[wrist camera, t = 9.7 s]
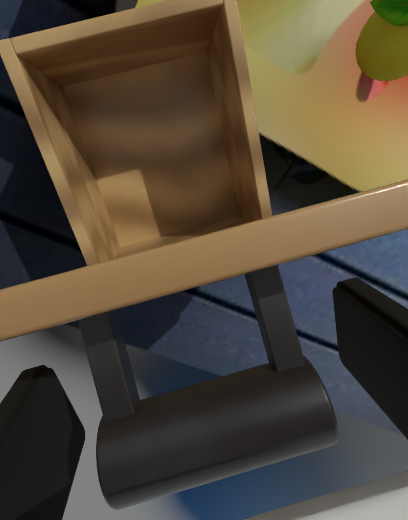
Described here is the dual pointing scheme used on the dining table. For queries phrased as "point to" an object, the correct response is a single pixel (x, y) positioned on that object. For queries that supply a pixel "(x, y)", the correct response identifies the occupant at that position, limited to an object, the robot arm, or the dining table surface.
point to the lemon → (385, 41)
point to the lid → (219, 389)
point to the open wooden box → (144, 123)
